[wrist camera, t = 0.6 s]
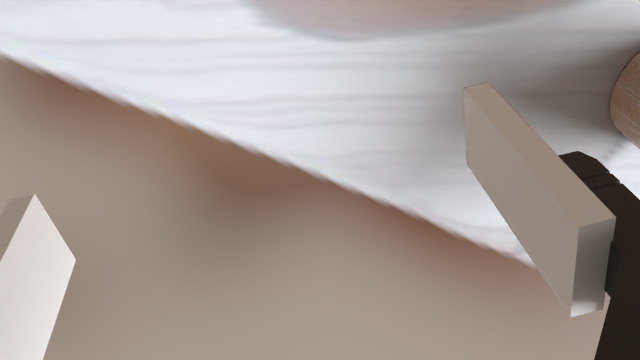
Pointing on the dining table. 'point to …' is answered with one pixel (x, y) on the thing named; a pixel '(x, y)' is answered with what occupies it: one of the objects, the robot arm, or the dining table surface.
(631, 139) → the planter
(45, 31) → the dining table surface
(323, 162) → the dining table surface
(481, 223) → the dining table surface
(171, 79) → the dining table surface
